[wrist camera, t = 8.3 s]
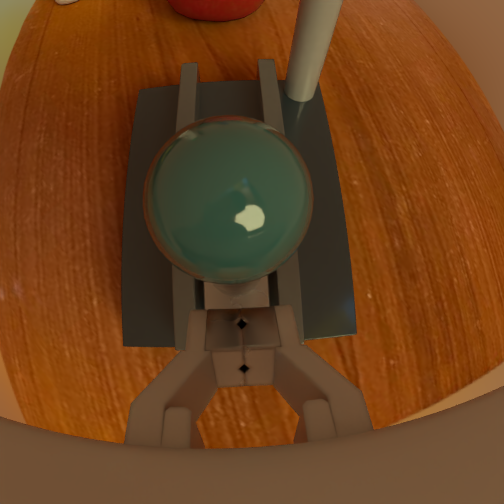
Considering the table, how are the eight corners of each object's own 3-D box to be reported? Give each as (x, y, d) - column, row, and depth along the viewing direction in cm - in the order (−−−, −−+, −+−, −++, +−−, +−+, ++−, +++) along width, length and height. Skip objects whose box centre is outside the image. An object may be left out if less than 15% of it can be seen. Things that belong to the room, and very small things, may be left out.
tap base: (140, 342, 18) (-39, 370, 4) (149, 114, 21) (90, -44, 7) (339, 332, 18) (521, 342, 5) (310, 107, 22) (360, -55, 8)
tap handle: (205, 316, 15) (110, 305, 4) (202, 236, 16) (134, 73, 5) (270, 312, 15) (351, 292, 4) (265, 233, 16) (312, 64, 5)
